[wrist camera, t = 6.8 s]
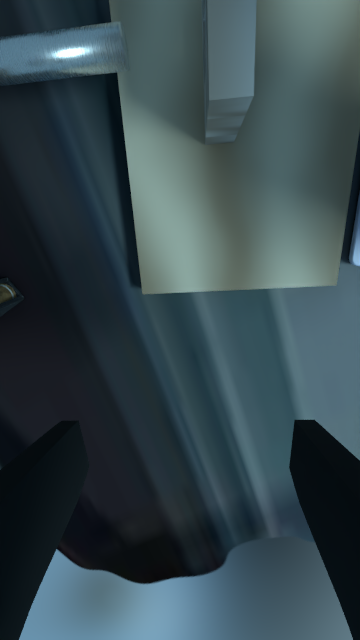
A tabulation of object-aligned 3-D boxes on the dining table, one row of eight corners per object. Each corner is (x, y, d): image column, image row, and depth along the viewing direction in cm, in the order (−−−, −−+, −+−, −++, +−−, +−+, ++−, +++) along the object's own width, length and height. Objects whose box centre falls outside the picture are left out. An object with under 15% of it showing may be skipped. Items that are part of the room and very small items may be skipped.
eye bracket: (409, -324, 9) (781, -1293, 3) (326, 281, 17) (396, 310, 11) (87, -251, 10) (-63, -899, 4) (146, 289, 18) (120, 320, 12)
